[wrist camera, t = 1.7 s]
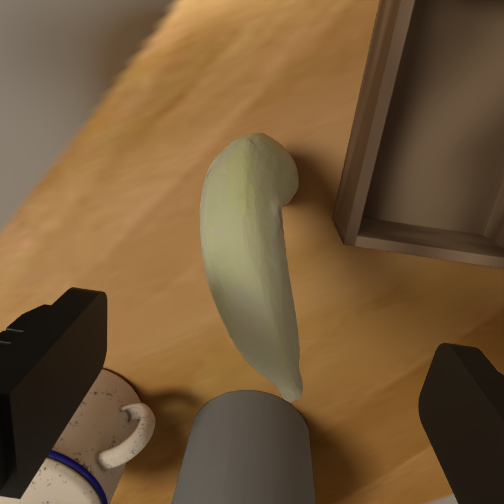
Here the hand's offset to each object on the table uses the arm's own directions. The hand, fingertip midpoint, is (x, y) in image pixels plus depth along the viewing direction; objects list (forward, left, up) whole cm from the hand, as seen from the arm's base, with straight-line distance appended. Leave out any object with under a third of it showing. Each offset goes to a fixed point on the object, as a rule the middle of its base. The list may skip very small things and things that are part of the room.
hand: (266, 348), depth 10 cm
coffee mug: (0, +22, -18) cm, 28 cm away
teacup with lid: (+11, +19, -18) cm, 28 cm away
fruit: (0, 0, -18) cm, 18 cm away
